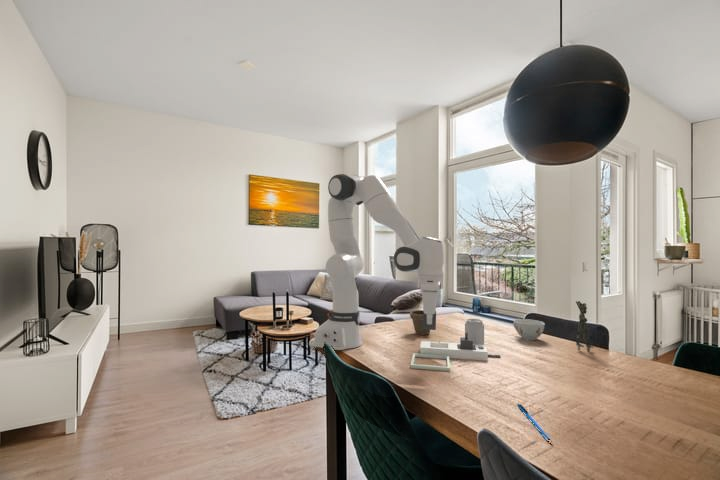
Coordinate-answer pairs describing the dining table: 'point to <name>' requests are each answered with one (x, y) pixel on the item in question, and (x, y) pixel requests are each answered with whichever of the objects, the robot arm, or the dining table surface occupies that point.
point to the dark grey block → (430, 326)
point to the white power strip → (455, 350)
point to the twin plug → (466, 342)
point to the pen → (532, 420)
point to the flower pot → (419, 322)
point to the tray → (429, 365)
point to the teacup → (529, 328)
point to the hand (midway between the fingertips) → (429, 322)
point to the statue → (582, 326)
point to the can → (475, 330)
